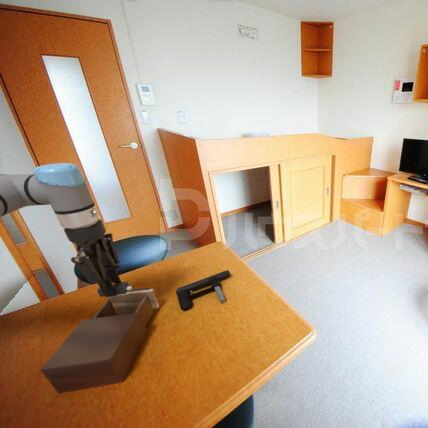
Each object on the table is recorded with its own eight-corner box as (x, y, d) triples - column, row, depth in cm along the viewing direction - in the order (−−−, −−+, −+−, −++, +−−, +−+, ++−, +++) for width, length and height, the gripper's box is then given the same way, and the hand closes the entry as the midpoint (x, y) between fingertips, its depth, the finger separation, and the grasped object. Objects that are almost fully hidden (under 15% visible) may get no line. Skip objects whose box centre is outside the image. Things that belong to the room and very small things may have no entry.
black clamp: (240, 290, 91) (226, 266, 102) (182, 315, 80) (173, 286, 91) (241, 296, 92) (227, 272, 103) (184, 322, 81) (175, 292, 92)
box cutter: (100, 297, 71) (96, 290, 70) (105, 290, 73) (102, 283, 72) (130, 293, 72) (127, 286, 71) (134, 287, 75) (131, 280, 73)
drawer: (123, 301, 86) (116, 285, 83) (164, 297, 89) (158, 280, 86) (91, 346, 71) (80, 328, 67) (141, 338, 73) (133, 321, 70)
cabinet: (95, 341, 73) (82, 319, 69) (148, 334, 76) (138, 312, 72) (58, 393, 60) (39, 369, 56) (123, 382, 63) (110, 358, 59)
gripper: (78, 237, 56) (113, 309, 66) (116, 210, 70) (140, 273, 80) (40, 240, 55) (82, 313, 65) (86, 212, 69) (115, 276, 79)
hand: (114, 291), depth 72 cm, fingers closed on box cutter, 3 cm apart
